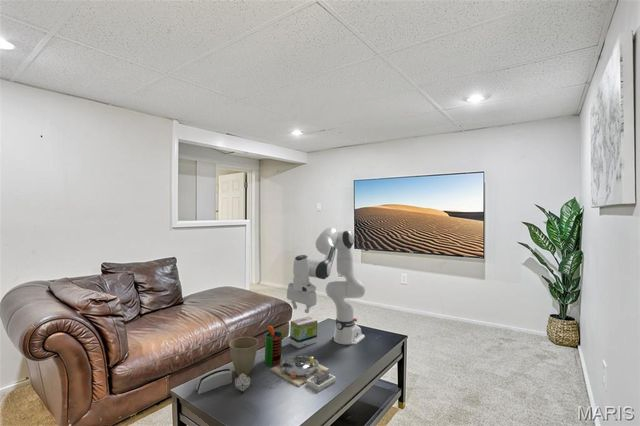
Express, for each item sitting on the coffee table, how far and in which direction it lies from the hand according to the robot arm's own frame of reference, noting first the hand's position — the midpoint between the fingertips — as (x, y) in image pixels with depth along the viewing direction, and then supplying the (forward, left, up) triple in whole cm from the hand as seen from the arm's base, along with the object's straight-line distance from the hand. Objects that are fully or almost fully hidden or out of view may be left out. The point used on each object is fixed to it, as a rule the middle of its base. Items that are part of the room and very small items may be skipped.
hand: (300, 310), depth 180 cm
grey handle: (+43, -15, -32) cm, 55 cm away
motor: (+7, -15, -31) cm, 35 cm away
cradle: (+4, +19, -31) cm, 37 cm away
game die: (+35, -3, -31) cm, 47 cm away
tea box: (-23, -21, -31) cm, 44 cm away
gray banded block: (+4, +20, -30) cm, 36 cm away
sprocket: (+3, +3, -30) cm, 30 cm away
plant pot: (+25, -17, -31) cm, 44 cm away
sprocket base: (+3, +3, -31) cm, 31 cm away
